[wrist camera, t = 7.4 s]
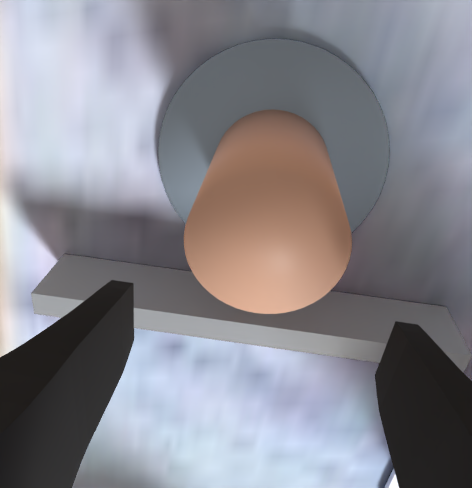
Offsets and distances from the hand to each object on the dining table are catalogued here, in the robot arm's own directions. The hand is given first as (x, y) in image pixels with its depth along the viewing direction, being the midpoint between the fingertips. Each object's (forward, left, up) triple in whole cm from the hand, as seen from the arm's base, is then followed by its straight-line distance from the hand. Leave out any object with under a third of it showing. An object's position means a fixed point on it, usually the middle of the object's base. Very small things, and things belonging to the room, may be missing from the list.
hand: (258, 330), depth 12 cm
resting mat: (0, -2, -9) cm, 10 cm away
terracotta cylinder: (0, -2, -9) cm, 9 cm away
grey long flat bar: (0, +5, -9) cm, 11 cm away
